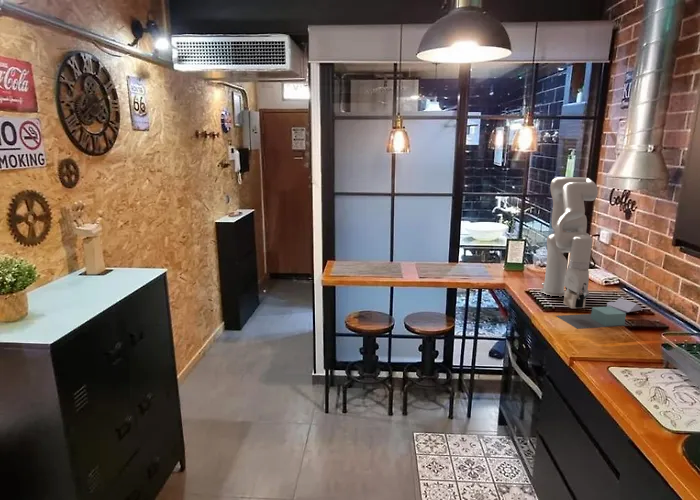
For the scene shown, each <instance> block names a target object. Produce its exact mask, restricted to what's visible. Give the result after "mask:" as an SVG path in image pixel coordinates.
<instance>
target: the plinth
mask: <svg viewBox="0 0 700 500" xmlns="http://www.w3.org/2000/svg"><path fill="white" fill-rule="evenodd" d="M590 314H591V319H593V320H595V321H597V322H599V323H600V324H602V325H604V326H614V325H624V324H626V318H627V317H626V316H627V313H624V312H622V311H619V310H617V309H615V308H613V307H611V306H610V307H607V306H593V307H591V312H590Z"/></svg>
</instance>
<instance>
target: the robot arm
mask: <svg viewBox="0 0 700 500" xmlns="http://www.w3.org/2000/svg"><path fill="white" fill-rule="evenodd" d="M549 189H550V194H551V198H552V214H551V227H552V229H553V230H554V233H551V234H549V235H547V238H546V250H547V251H546V253H547V254H546V265H545V266H546V267H545V275H544V282H542V283H541V285H542V286H543V288H540V293H541V294H542V293H544V294H546V295H545V296H547V295H550V296H549V297H552V296H559V297H558V298H563V297H562V296H564V295H565V291H569V290H571V291H573V292H576V293H577V298H578V299H576V305H575V307H576V308H575V309H582V307H583V302H584V299H585V298H586V299H587V297H588V296H590V292H589V290H588V289H589V281H590V279H589V278H590V275H589V274H590V271H589V270H590V269H589V268H590V263H591V254H592V248H593V247H592V246H593V239H592V237H591V235H590V234H589V233H587V229H588V219H587V215H585V212H586V208H585V202H592V201H595V200H596V199H597V197H598V187H597V184H596V182H594V181H593V180H592V179H591V178H590V177H585V176H584V177H580V176H579V177H578V176H575V177H574V176H559V177H558V176H557V177H555V178H553V179H552V180H551V182H550V188H549ZM565 253H569V254H570V255H569V256H570V257H569V265H568V261H567V258H566V257H565V256H564V254H565ZM567 265H568V266H567ZM580 293H582V295H581V296H580ZM544 294H543V295H544Z"/></svg>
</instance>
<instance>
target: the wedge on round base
mask: <svg viewBox="0 0 700 500" xmlns="http://www.w3.org/2000/svg"><path fill="white" fill-rule="evenodd" d="M610 306H611V307H613V308H615V309H617V310H619V311H622V312H624V313H626V314H627V313H630V312H631V313H632V312H637V311H641V310H642V311H643V310H644V309H643V308H642V307H641V306H640V305H639V304H638V303H636V302H634V301H631V300H627V299H624V298H622V297H621V298H620V297H619V298H618V299H616V301H608V302H606V307H610Z"/></svg>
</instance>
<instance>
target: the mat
mask: <svg viewBox="0 0 700 500" xmlns="http://www.w3.org/2000/svg"><path fill="white" fill-rule="evenodd" d="M556 318H559V319H560V320H562V321H563V322H564V323H565V322H566V323H567V324H569V325H571V326H572V327H573V328H576V329H577V330H581V329H594V328H595V329H598V328H609V327H610V328H614V327H615V328H616V327H629V326H630V325H629V324H627V323H625V324H624V325H614V326H604V325H602V324H600V323H599V322H597V321H595V320H593V319H591V313H584V314H583V313H582V314H567V315H565V314H564V315H556Z"/></svg>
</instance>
